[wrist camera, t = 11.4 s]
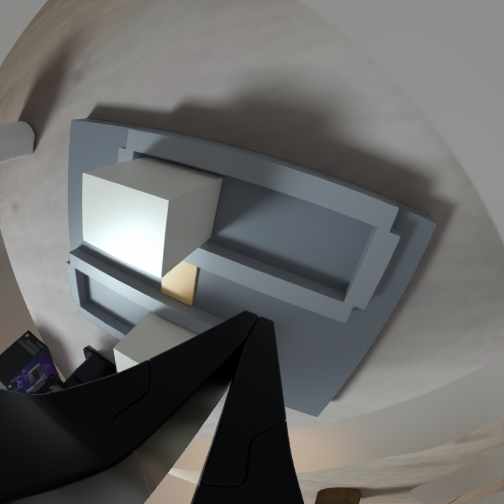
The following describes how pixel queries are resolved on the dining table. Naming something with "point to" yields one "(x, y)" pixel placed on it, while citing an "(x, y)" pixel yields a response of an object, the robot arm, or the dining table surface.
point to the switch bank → (256, 256)
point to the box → (25, 364)
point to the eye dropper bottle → (16, 140)
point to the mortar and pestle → (338, 496)
